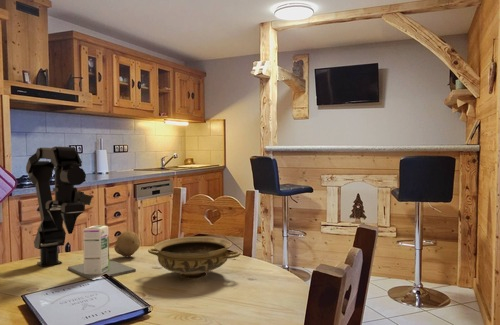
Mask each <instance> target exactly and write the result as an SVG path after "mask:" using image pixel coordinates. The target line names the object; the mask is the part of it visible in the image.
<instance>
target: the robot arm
mask: <svg viewBox="0 0 500 325" xmlns="http://www.w3.org/2000/svg"><path fill="white" fill-rule="evenodd" d="M40 159H43V160H40ZM25 171H26V172H25V173H26V174H28V175H27V176H28V179H29V181H31V182H32V184H34V185H35V191H36V197H37V203H38V204H37V205H38V209H39V215H40V216H39V217H40V223H39V226H38V228H37V232H36V235H35V237H34V240H33V245H34V249H36V250H40V252H39V253H40V257H39V260H40V261H38V262H37V263H36V265H38V266H40V267H42V268H44V267H49V266H54V265H59V264H60V265H61V264H63V261H62V260H59V247H62V246H65V243H66V242H65V241H66V235H67V234H68V235H72V234H73V232H74V229H75V225H76V223H77V219H78V217H79V216H81V215H82V214H83V213H84V212H85V211H86V206H87V205H88V206H90V205H91V202H92V200H93V196H92V195H89V194H85V191H81V190H78V188H77V187H75V186H79V185H82V184H83V183H84V182H85V181H86V178H87V174H86V171H85V170H84V169H83V168H82V159H81V157H80V155H79V153H78V150H76V147H74V146H53V147H38V148H37V149H36V152H35V153H33V154H32V155H31V156H30V157H28V160H27V162H26V166H25ZM53 172H54V187H52V189H51V184H50V180H51V178H52V176H53ZM52 192H54V200H53V194H52ZM64 225H65V228H64ZM66 231H67V232H66Z"/></svg>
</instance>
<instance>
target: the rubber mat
mask: <svg viewBox="0 0 500 325" xmlns="http://www.w3.org/2000/svg"><path fill="white" fill-rule="evenodd" d="M67 269H68V271H69V270H70V271H72V272H73V273H76V274H78V275H80V276H82V277H84V278H86V279H88V280H90V278H94V277H98V276H101V275H104V274H108V275H110V276H112V277H116V276H121V275H125V274H130V273H135V272H136V271H137V270H136V268H134V267H131V266H129V265H126V264H123V263H121V262H117V261H115V260H113V259H110V258H109V270H107V271H106V272H104V273H102V274H101V275H88V274H84V263H80V264H75V265H69V266H67ZM112 277H111V278H112Z"/></svg>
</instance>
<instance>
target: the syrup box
mask: <svg viewBox="0 0 500 325" xmlns="http://www.w3.org/2000/svg"><path fill="white" fill-rule="evenodd" d="M82 234H83V235H82V237H83V238H82V239H83V240H82V241H83V245H82V246H83V264H84V274H88V275H101V274H102V273H104V272H106V271H107V270H109V259H110V243H109V240H110V239H109V225H104V224H103V225H101V224H100V225H92V226H88V227H86V228H83V229H82Z"/></svg>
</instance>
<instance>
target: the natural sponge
mask: <svg viewBox="0 0 500 325" xmlns="http://www.w3.org/2000/svg"><path fill="white" fill-rule="evenodd" d="M140 246H141V240H140V238H139V235H138V234H137V233H136V232H134V231H132V230H126V231H125V230H124V231H123V232H122V233H120V234H119V236H118V237H117V239H116V241H115V244H114V252H116V253H117V254H118V255H120V256H122V257H124V256H130V257H132V256H133V255H134V254H135V253H137V251H138V250H139V248H140ZM131 255H132V256H131Z"/></svg>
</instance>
